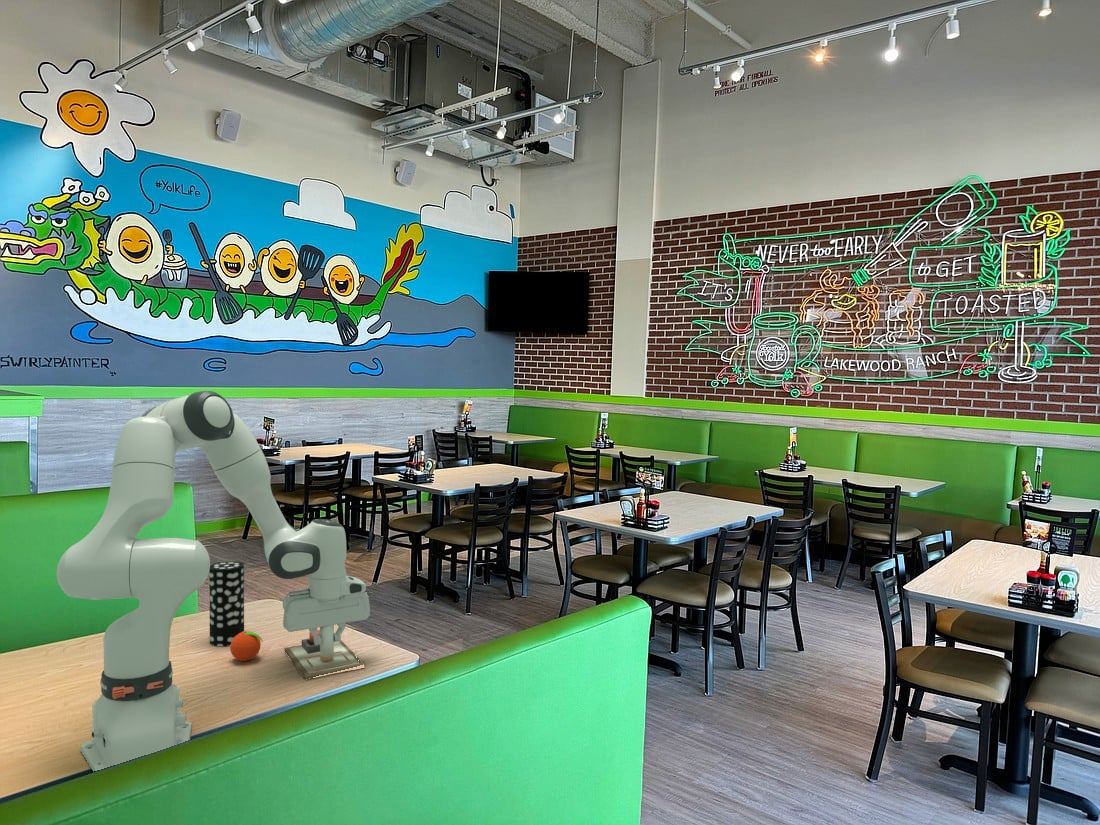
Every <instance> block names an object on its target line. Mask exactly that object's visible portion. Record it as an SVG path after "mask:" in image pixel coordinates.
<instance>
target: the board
mask: <svg viewBox="0 0 1100 825" xmlns="http://www.w3.org/2000/svg"><path fill="white" fill-rule="evenodd" d="M283 649H284V651H285V652H286V653H287V655H288V656H289V657H288V656H287V655H286V656H287V657H288V658H290V659H291V660H292V661H291V660H290V659H289V660H290V661H291V663H292V662H293V663H294V664H295V665H294V664H293V663H292V664H293V665H294V667H295V666H296V667H297V668H298V669H297V668H296V667H295V668H296V669H297V670H299V671H300V672H301V673H302V675H303V676H304V677H303V676H302V675H301V676H302V677H303V678H305V679H309V678H313V677H316V676H319V675H324V674H328V673H333V672H337V671H341V670H345V669H349V668H353V667H357V666H360V665H363V663H364V662H363V661H362V660H361V659H360V658H359V657H358V656H357V655H356V654H355V653H354V651H353V650H351V648H350V647H348V645H347V644H346V643H345V642H344V641H343V640H342V639H341V641H338V642H334V659H333V660H331V661H327V662H324V661H321V660H320V645H316V646H315V645H314V642H311V641H309V638H306V639H301V644H300V645H293V646H288V647H284V648H283ZM284 651H283V652H284ZM285 652H284V653H285ZM286 653H285V654H286ZM355 655H356V656H357V658H356V656H355ZM359 659H360V660H361V661H362V663H361V661H360V660H359ZM358 660H359V661H358ZM299 671H298V672H299ZM300 672H299V673H300ZM301 673H300V674H301ZM305 679H304V680H305ZM309 680H310V679H309Z"/></svg>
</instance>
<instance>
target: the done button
mask: <svg viewBox="0 0 1100 825" xmlns="http://www.w3.org/2000/svg"><path fill="white" fill-rule="evenodd" d="M315 634H316V635H317V636H320V629H317V632H315ZM308 637H309V638H308V639H309V641H311V642H314V637H313V636H312V634H311V632H310V631H309V636H308Z"/></svg>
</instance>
